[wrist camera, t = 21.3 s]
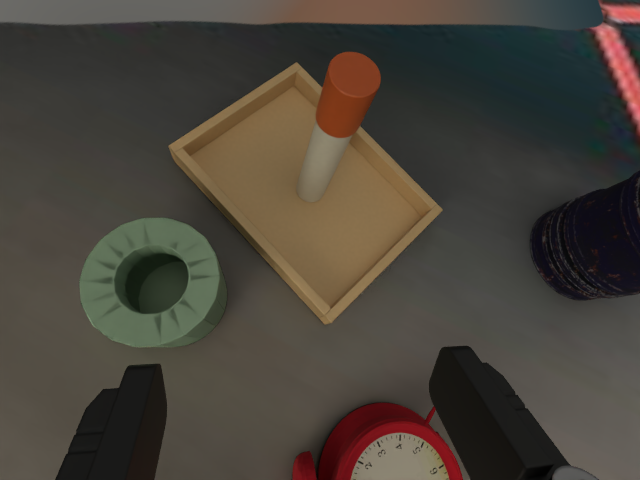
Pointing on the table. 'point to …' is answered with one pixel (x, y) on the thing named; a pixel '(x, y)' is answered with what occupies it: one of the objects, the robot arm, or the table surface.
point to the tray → (289, 209)
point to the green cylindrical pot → (153, 284)
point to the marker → (337, 119)
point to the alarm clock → (381, 448)
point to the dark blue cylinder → (592, 243)
